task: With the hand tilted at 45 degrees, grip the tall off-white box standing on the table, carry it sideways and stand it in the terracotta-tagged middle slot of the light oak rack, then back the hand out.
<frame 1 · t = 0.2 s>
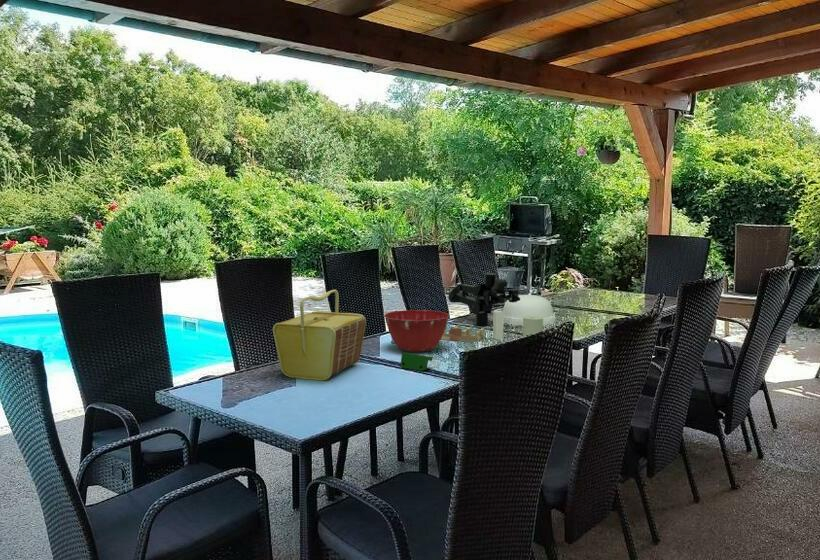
hand: (512, 300, 305), 17 cm above the table, tool horizontal, fingers open, 9 cm apart
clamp: (417, 368, 243), on the table
mixing bowl: (416, 349, 276), on the table
rack: (460, 338, 297), on the table
tall off-white box: (498, 338, 296), on the table
picnic basket: (322, 371, 240), on the table
dome cover: (527, 321, 341), on the table
can: (532, 342, 288), on the table
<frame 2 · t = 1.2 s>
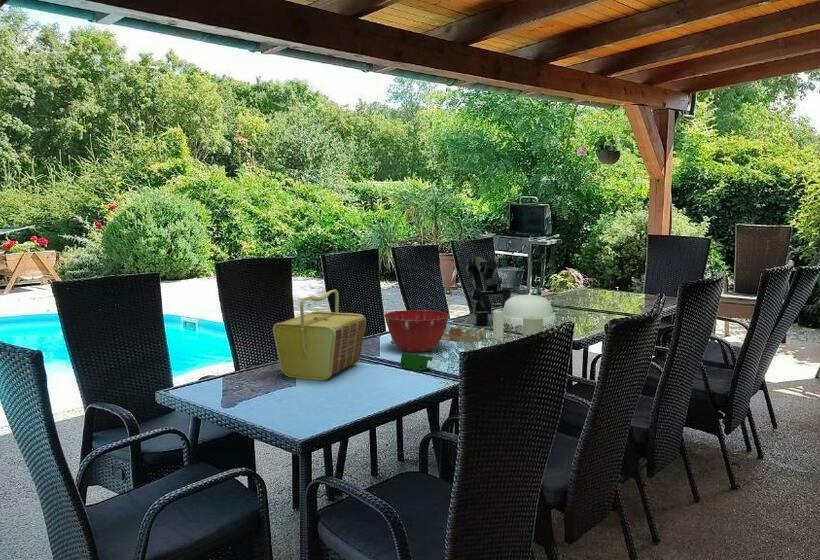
hand: (494, 307, 302), 14 cm above the table, tool tilted 45°, fingers open, 9 cm apart
nothing on the table moved.
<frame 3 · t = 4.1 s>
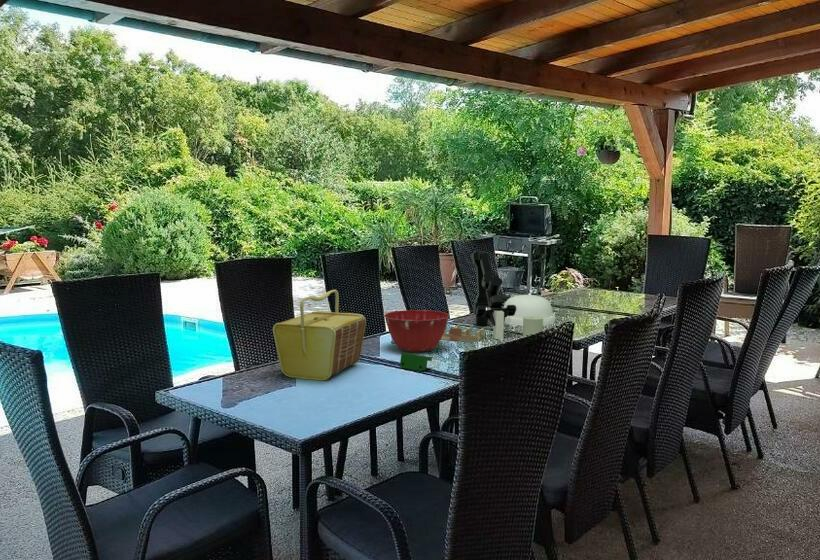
hand: (499, 325, 294), 7 cm above the table, tool tilted 45°, fingers closed on tall off-white box, 4 cm apart
tall off-white box: (498, 338, 296), on the table, touching gripper
everything else where it was.
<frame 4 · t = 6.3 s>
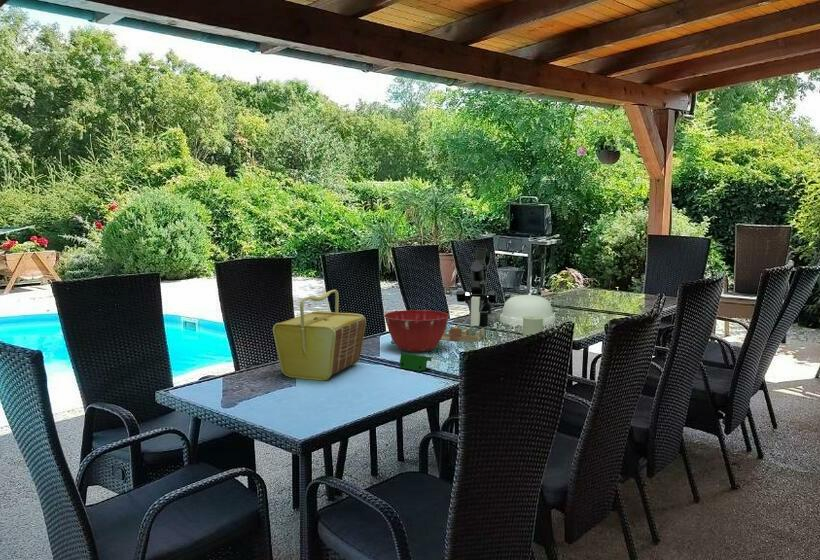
hand: (475, 311, 292), 14 cm above the table, tool tilted 45°, fingers closed on tall off-white box, 4 cm apart
tall off-white box: (475, 324, 295), point 7 cm above the table, touching gripper
everything else where it was.
when the fingers open (8 cm above the table, at t = 8.4 s): tall off-white box drops 1 cm, resting on rack.
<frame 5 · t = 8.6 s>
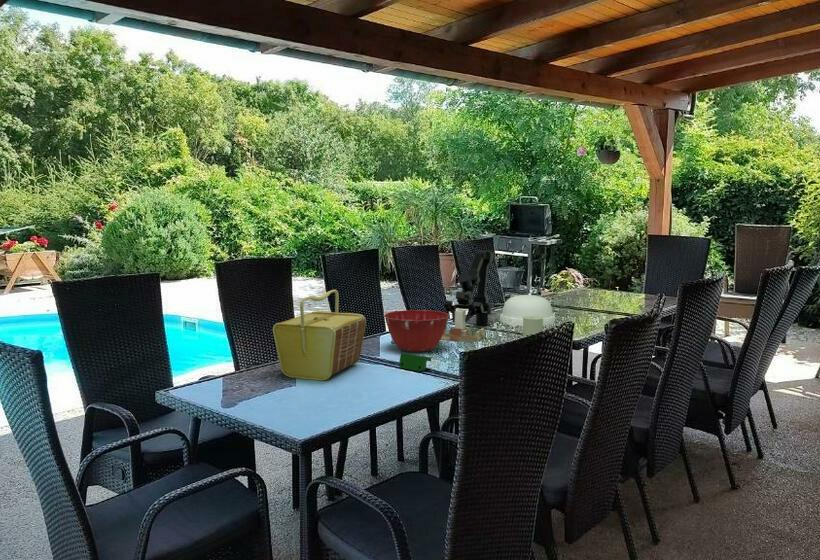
hand: (459, 321, 295), 8 cm above the table, tool tilted 45°, fingers open, 6 cm apart
tall off-white box: (460, 337, 297), resting on rack
everything else where it was.
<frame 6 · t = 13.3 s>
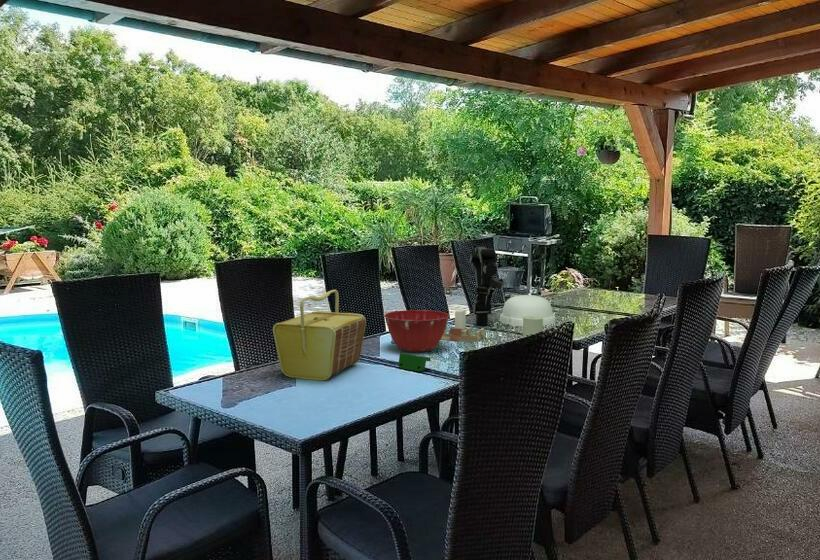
hand: (486, 304, 314), 13 cm above the table, tool pointing down, fingers open, 9 cm apart
at the end: tall off-white box 0.1 cm from the rack (horizontally); tall off-white box tilted 0°; the gripper is holding nothing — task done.
